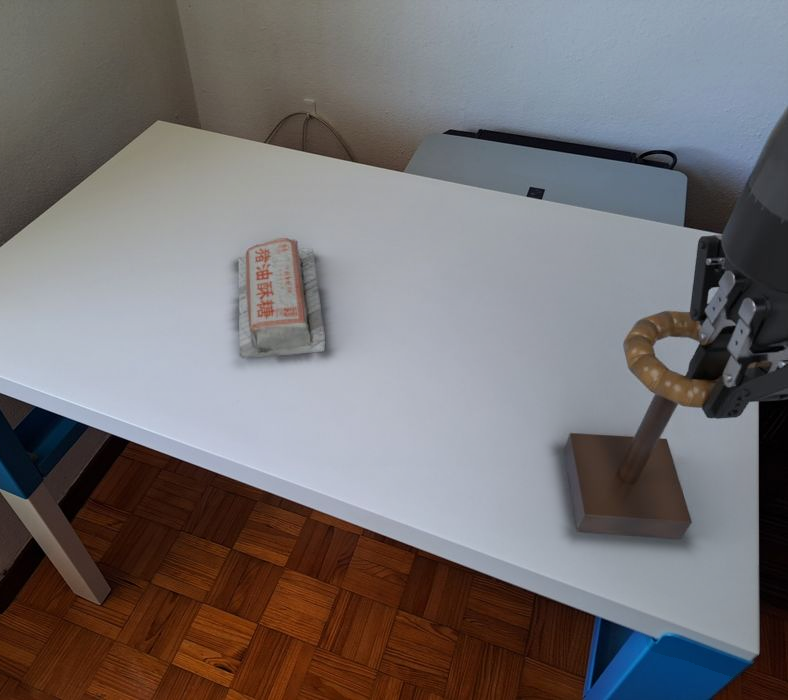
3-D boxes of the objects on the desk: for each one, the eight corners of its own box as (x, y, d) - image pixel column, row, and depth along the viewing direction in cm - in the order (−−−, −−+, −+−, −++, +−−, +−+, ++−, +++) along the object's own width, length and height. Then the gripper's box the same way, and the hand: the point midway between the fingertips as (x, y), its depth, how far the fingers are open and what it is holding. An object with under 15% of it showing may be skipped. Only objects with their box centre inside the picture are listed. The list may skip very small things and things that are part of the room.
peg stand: (657, 456, 67) (714, 351, 57) (680, 539, 61) (750, 439, 50) (563, 450, 68) (602, 346, 57) (577, 532, 62) (623, 431, 51)
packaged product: (325, 323, 75) (235, 332, 75) (327, 353, 79) (240, 362, 78) (312, 226, 88) (234, 233, 87) (313, 256, 91) (239, 263, 91)
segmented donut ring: (733, 328, 54) (743, 310, 53) (769, 419, 48) (782, 400, 47) (613, 321, 56) (619, 302, 54) (632, 408, 49) (640, 389, 48)
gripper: (993, 268, 32) (813, 476, 44) (825, 122, 41) (716, 327, 54) (833, 278, 32) (698, 484, 44) (701, 129, 41) (621, 333, 54)
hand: (708, 397), depth 49 cm, fingers closed on segmented donut ring, 2 cm apart
